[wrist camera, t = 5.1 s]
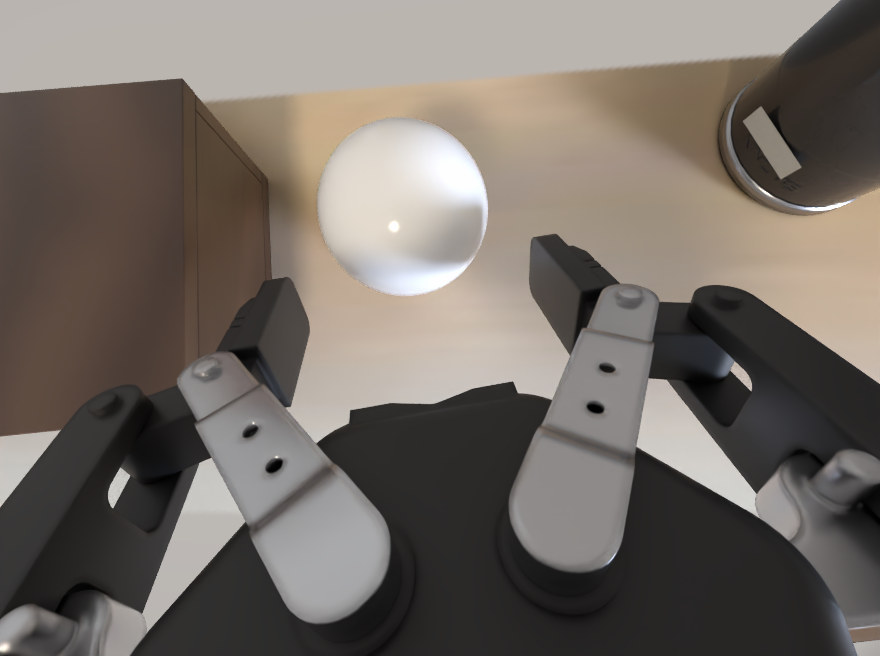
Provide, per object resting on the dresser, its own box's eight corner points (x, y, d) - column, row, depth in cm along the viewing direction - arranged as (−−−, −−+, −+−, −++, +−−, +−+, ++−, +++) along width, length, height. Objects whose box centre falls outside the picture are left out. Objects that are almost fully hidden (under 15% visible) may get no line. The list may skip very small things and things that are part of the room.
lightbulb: (393, 344, 21) (347, 307, 10) (344, 251, 22) (251, 124, 11) (488, 292, 22) (541, 205, 11) (437, 203, 22) (438, 36, 11)
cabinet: (31, 427, 20) (-209, 457, 13) (42, 198, 22) (-162, 105, 14) (277, 402, 21) (185, 417, 13) (267, 178, 22) (182, 77, 15)
